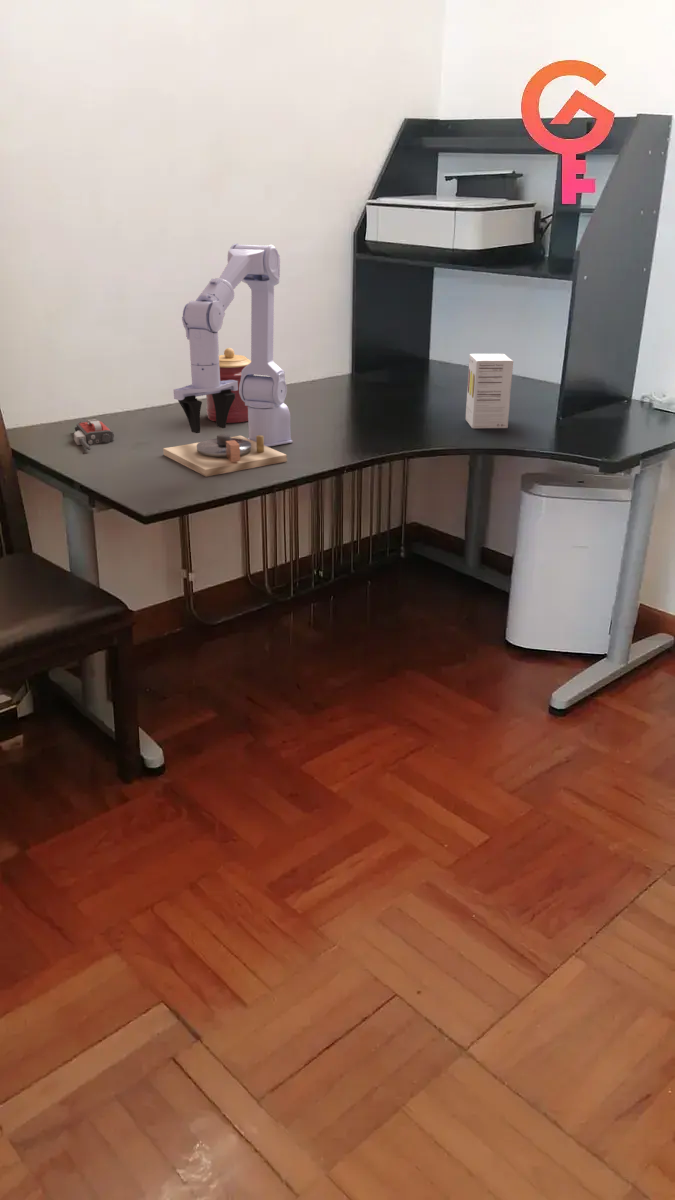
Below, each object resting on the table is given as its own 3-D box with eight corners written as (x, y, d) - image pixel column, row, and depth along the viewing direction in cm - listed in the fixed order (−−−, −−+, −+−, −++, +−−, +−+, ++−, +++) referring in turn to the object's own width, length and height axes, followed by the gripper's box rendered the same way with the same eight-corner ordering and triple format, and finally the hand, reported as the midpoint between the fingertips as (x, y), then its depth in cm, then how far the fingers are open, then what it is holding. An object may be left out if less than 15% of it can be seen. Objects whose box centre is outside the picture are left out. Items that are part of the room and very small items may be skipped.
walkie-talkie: (67, 434, 230) (84, 455, 213) (65, 416, 228) (82, 436, 212) (103, 430, 233) (123, 450, 217) (101, 413, 231) (121, 432, 215)
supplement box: (464, 419, 244) (468, 353, 237) (499, 419, 245) (504, 352, 238) (472, 429, 235) (476, 360, 228) (508, 428, 236) (514, 359, 229)
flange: (191, 444, 213) (190, 429, 211) (243, 440, 217) (242, 425, 215) (208, 464, 199) (207, 447, 198) (262, 458, 203) (262, 442, 202)
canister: (203, 423, 239) (200, 352, 231) (209, 411, 250) (206, 343, 243) (255, 423, 239) (253, 352, 232) (258, 411, 251) (256, 343, 243)
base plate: (241, 441, 223) (240, 420, 221) (286, 461, 208) (286, 439, 206) (163, 454, 213) (162, 433, 210) (206, 476, 198) (204, 453, 196)
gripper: (222, 356, 197) (225, 420, 203) (163, 364, 188) (168, 431, 194) (243, 360, 193) (245, 426, 198) (183, 369, 184) (187, 438, 189)
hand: (208, 429), depth 196 cm, fingers open, 6 cm apart
